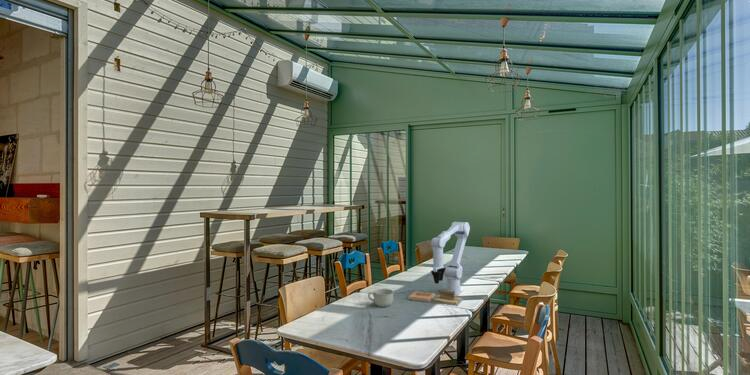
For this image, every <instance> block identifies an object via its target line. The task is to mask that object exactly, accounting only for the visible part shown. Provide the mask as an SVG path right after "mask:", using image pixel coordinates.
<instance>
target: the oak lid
mask: <svg viewBox="0 0 750 375" xmlns="http://www.w3.org/2000/svg"><path fill="white" fill-rule="evenodd" d="M461 298H462V296H458V295H455V291H447V290H443V289H441V290H440V291H439V295H437V296H435V297H434V298H433V299H432V302H439V303H449V304H457V303H458V302H459V301H460V299H461Z"/></svg>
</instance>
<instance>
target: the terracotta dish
mask: <svg viewBox="0 0 750 375" xmlns="http://www.w3.org/2000/svg"><path fill="white" fill-rule="evenodd" d="M407 297H408V301H414V302H415V301H416V302H423V303H424V302H425V303H430V300H431V301H433V300H434V299H435V298H436V293H434V292H422V291H414V292H413V293H411V294H410V295H409V296H407Z"/></svg>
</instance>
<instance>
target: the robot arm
mask: <svg viewBox="0 0 750 375" xmlns="http://www.w3.org/2000/svg"><path fill="white" fill-rule="evenodd" d="M470 231H471V227H470V223H469V222H467V221H466V222H465V221H453V222H451V225H450V227H449V228H448V229H447V230H443V231H442V232H441V233H440V234H438V235H437V236H436V237H433V238H432V239H431V242H430V246H431V250H432V260H433V262H432V265H431V266H430V267H431V268H432V270H430V273H431V275H432V277H433V281H434V284H440V282H442V281H443V279H444V277H445V278H446V281H447V282H446V285H447V286H446V287H447V288H446V289H447V290H446V291H455V296H460V294H461V293H463V291H462V290H461V280H460V279H461V278H462V277H463V266H462V265H461V261H462V256H463V253H464V251H465V250H464V249H465V246H466V244H467V238H468V237H469V233H470ZM452 235H454V236H455V237H456V238H457V239H456V242H455V247H454V250H453V255H452V258H451V261H450V262H448V263H447V264H446V266H445V267H444V248H445V246H446V244H447V242H448V241H449V240H450V239H451V236H452Z"/></svg>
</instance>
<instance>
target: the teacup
mask: <svg viewBox="0 0 750 375" xmlns="http://www.w3.org/2000/svg"><path fill="white" fill-rule="evenodd" d="M371 295H372V296H373V298H372V297H371ZM367 298H368V299H369V300H370V301H372V302H373V303H375V305H377V307H378V308H379V307H381V308H388V307H390V306H391V305H392V304H393V302H394V290H393V289H390V288H377V289H375V290H374V291H369V293H368V294H367Z"/></svg>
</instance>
